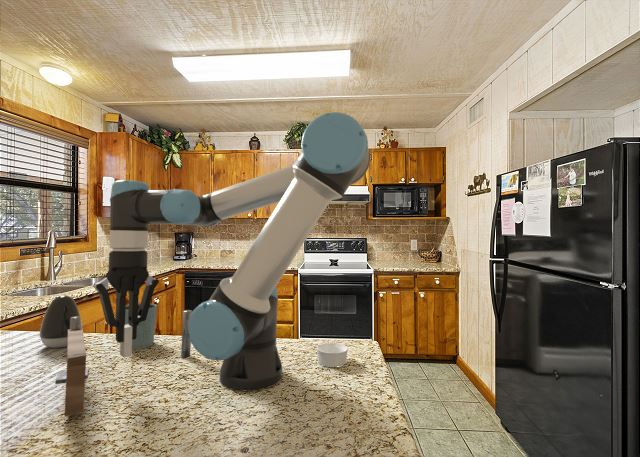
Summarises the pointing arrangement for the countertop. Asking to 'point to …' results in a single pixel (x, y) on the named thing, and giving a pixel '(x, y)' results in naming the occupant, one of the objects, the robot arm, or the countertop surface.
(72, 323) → the hinge post
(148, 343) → the teal cylindrical container
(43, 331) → the dark grey egg shape
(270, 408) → the countertop surface
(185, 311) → the post
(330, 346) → the ramekin
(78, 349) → the gate
